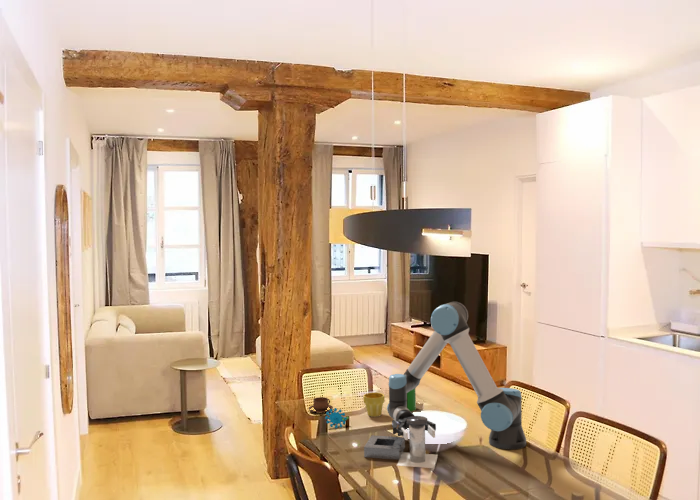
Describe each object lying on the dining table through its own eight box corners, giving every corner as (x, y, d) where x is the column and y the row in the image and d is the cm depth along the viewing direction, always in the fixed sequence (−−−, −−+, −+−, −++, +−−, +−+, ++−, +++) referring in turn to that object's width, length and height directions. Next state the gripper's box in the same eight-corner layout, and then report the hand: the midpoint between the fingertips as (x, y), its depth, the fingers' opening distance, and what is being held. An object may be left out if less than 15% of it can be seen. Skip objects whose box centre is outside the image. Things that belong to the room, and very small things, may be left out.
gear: (325, 426, 279) (325, 406, 286) (323, 432, 283) (323, 412, 290) (349, 427, 281) (348, 408, 288) (346, 433, 285) (346, 414, 292)
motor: (393, 408, 310) (392, 369, 309) (405, 404, 316) (404, 366, 315) (408, 412, 303) (407, 372, 302) (420, 408, 309) (419, 369, 308)
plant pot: (361, 417, 297) (360, 397, 297) (367, 411, 307) (366, 391, 306) (381, 418, 294) (381, 398, 293) (387, 412, 303) (386, 393, 303)
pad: (437, 457, 243) (437, 454, 243) (433, 470, 229) (433, 468, 229) (402, 454, 246) (402, 452, 246) (396, 468, 233) (396, 465, 233)
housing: (404, 449, 252) (404, 437, 252) (399, 462, 239) (399, 449, 238) (371, 447, 256) (371, 435, 255) (364, 459, 242) (364, 447, 242)
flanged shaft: (429, 456, 241) (428, 416, 240) (426, 464, 233) (426, 422, 233) (408, 455, 243) (408, 415, 242) (405, 462, 235) (405, 421, 234)
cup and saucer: (316, 406, 316) (316, 395, 316) (337, 409, 311) (336, 397, 311) (304, 413, 306) (304, 401, 305) (325, 416, 300) (325, 403, 300)
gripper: (430, 424, 257) (449, 442, 236) (377, 429, 253) (391, 447, 231) (430, 407, 257) (448, 423, 235) (377, 411, 253) (391, 428, 231)
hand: (420, 435), depth 233 cm, fingers open, 10 cm apart
